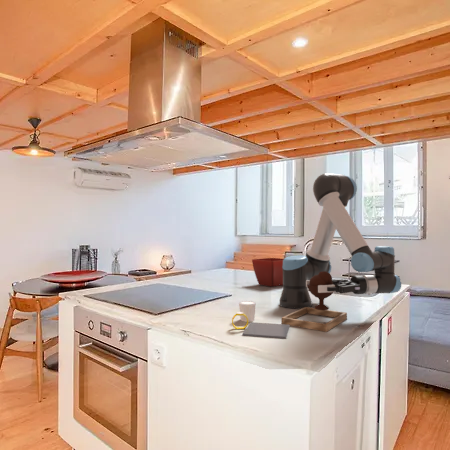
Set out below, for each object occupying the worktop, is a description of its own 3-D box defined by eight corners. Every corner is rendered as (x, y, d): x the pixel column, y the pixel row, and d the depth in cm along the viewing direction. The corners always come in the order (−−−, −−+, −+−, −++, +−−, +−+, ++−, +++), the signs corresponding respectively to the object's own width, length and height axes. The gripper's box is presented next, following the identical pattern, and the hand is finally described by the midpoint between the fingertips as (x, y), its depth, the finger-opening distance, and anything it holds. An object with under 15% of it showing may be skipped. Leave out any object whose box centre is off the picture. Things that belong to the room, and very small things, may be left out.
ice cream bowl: (329, 305, 144) (329, 269, 144) (339, 311, 132) (339, 272, 132) (304, 305, 143) (304, 269, 143) (312, 312, 132) (312, 273, 132)
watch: (247, 328, 129) (248, 312, 129) (248, 330, 126) (248, 313, 126) (231, 327, 129) (232, 311, 129) (231, 329, 126) (232, 313, 126)
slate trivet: (242, 335, 119) (242, 333, 119) (250, 323, 134) (250, 322, 134) (286, 338, 115) (286, 336, 115) (289, 326, 130) (289, 324, 130)
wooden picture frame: (281, 323, 133) (281, 317, 133) (305, 312, 151) (305, 306, 151) (326, 331, 122) (326, 325, 122) (346, 318, 140) (346, 312, 140)
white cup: (245, 316, 145) (245, 300, 145) (259, 319, 140) (259, 302, 140) (235, 320, 139) (235, 303, 139) (249, 323, 135) (249, 305, 135)
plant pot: (271, 281, 238) (271, 257, 239) (293, 285, 224) (292, 259, 224) (251, 284, 226) (251, 259, 226) (273, 288, 212) (272, 261, 212)
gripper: (380, 300, 129) (325, 302, 126) (348, 288, 152) (300, 290, 149) (380, 280, 129) (325, 281, 126) (348, 271, 152) (301, 272, 149)
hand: (312, 286), depth 137 cm, fingers closed on ice cream bowl, 11 cm apart
